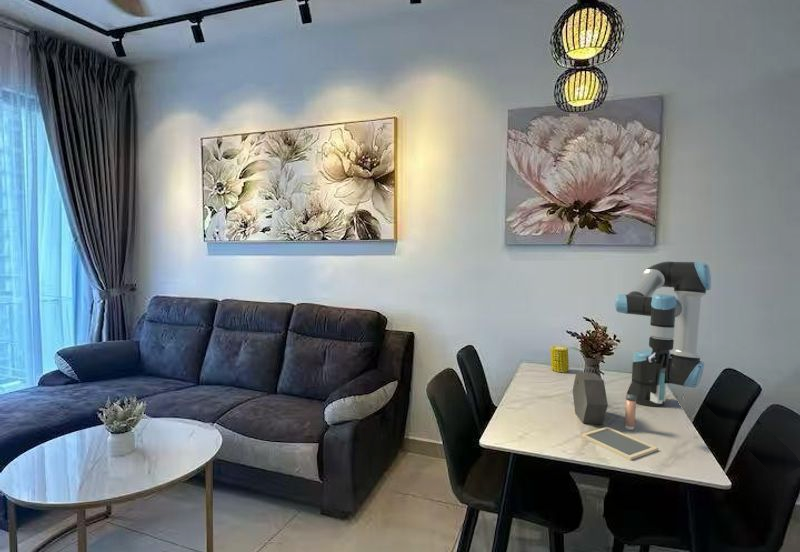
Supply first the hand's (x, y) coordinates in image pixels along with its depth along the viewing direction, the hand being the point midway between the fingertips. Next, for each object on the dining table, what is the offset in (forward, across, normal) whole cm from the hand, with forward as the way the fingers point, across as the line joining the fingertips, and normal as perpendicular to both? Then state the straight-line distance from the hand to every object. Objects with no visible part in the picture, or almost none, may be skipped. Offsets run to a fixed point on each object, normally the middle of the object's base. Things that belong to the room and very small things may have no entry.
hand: (657, 400), depth 155 cm
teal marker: (+1, 0, 0) cm, 1 cm away
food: (+15, -38, -77) cm, 87 cm away
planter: (+15, +6, -24) cm, 29 cm away
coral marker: (+14, 0, -10) cm, 18 cm away
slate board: (+14, +16, -4) cm, 22 cm away
